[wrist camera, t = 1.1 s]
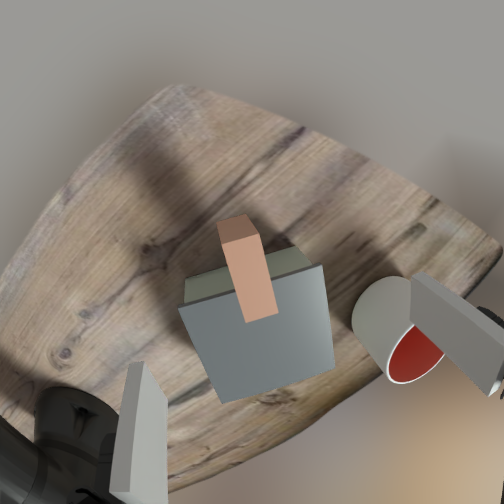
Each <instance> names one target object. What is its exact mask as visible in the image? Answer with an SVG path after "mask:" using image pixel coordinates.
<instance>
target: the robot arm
mask: <svg viewBox="0 0 504 504" xmlns="http://www.w3.org/2000/svg"><path fill="white" fill-rule="evenodd" d="M409 320H410V321H411V322H412V323H413V324H414V325H415V326H416V327H417V328H418V329H419V330H420V331H421V332H423V333H424V334H425V335H426V336H427V337H428V338H429V339H430V340H431V341H432V342H433V343H434V344H435V345H436V346H437V347H438V348H439V349H440V350H441V351H442V352H443V353H444V354H445V355H447V356H448V357H449V358H450V359H451V360H452V361H453V362H454V363H455V364H456V365H457V366H458V367H459V368H460V369H461V370H462V371H463V372H464V373H465V374H466V375H467V376H468V377H469V378H470V379H471V380H472V381H473V382H474V383H475V384H476V385H477V386H478V387H479V389H481V391H482V392H483V393H485V395H486V396H487V397H489V396H490V395H491V394H492V393H494V392H495V391H496V390H497V389H499V387H500V385H501V382H502V380H503V379H504V321H503V320H502V319H501V318H500V317H497V315H496V314H494V313H493V312H492V311H490V310H489V309H486V308H483V307H480V306H479V307H477V308H475V307H474V306H472V305H471V304H469V303H468V302H467V301H465V300H464V299H463V298H461V297H460V296H458V295H457V294H455V293H454V292H453V291H451V290H450V289H448V288H447V287H445V286H444V285H442V284H441V283H440V282H438V281H437V280H435V279H434V278H432V277H431V276H429V275H428V274H426V273H425V272H423V271H422V272H419V273H417V274H415V275H412V276H411V301H410V319H409ZM503 396H504V390H503V392H502V394H501V397H500V399H503ZM167 412H168V399H167V398H166V396H165V395H164V393H163V392H162V390H161V388H160V387H159V385H158V383H157V382H156V380H155V378H154V377H153V375H152V373H151V372H150V370H149V368H148V367H147V365H146V363H145V361H141V362H136V363H132V364H129V368H128V373H127V378H126V383H125V388H124V393H123V398H122V404H121V409H120V415H118V414H117V413H116V412H115V411H114V410H113V409H112V408H110V407H109V406H108V405H106V404H105V403H104V402H102V401H100V400H99V399H97V398H95V397H93V396H91V395H89V394H87V393H84V392H81V391H78V390H75V389H71V388H65V387H52V388H48V389H46V390H44V391H42V392H41V393H40V395H39V397H38V399H37V401H36V404H35V407H34V417H35V427H34V442H33V443H32V442H31V441H30V440H29V439H27V438H26V437H25V436H24V435H22V434H21V433H20V432H19V431H18V430H16V429H15V428H14V427H13V426H12V425H11V424H9V423H8V422H7V421H6V420H5V419H4V418H3V417H2V416H1V415H0V504H168V487H167ZM501 504H504V483H503V491H502V498H501Z"/></svg>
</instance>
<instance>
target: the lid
mask: <svg viewBox="0 0 504 504" xmlns="http://www.w3.org/2000/svg"><path fill="white" fill-rule="evenodd" d="M216 224H217V228H218V232H219V236H220V241H221V245H222V248H223V251H224V255H225V258H226V261H227V264H228V268H229V271H230V274H231V278H232V281H233V284H234V287H235V289H232V290H229V291H225V292H222V293H218V294H215V295H212V296H208V297H205V298H201V299H198V300H194V301H191V302H187V303H184V304H180V305H178V311H179V313H180V315H181V318H182V320H183V322H184V325H185V327H186V329H187V331H188V334H189V336H190V338H191V340H192V343H193V345H194V347H195V349H196V351H197V354H198V356H199V358H200V360H201V362H202V364H203V366H204V368H205V371H206V373H207V375H208V377H209V379H210V381H211V383H212V385H213V387H214V389H215V391H216V393H217V395H218V397H219V399H220V401H221V403H222V404H223V403H227V402H231V401H234V400H238V399H242V398H246V397H249V396H253V395H256V394H260V393H263V392H267V391H270V390H273V389H276V388H280V387H283V386H286V385H289V384H292V383H295V382H298V381H301V380H304V379H307V378H309V377H312V376H315V375H318V374H321V373H323V372H326V371H329V370H331V369H334V368H335V361H334V352H333V343H332V334H331V326H330V318H329V310H328V303H327V296H326V289H325V282H324V275H323V268H322V265H321V264H320V263H316V264H313V265H310V266H307V267H304V268H301V269H298V270H294V271H291V272H288V273H285V274H282V275H278V276H275V277H272V278H270V275H269V271H268V267H267V263H266V259H265V255H264V251H263V247H262V243H261V239H260V235H259V232H258V231H257V230H256V228H255V227H254V225H253V224H252V222H251V221H250V219H249V218H248V216H247V215H246V214H243V215H239V216H236V217H232V218H229V219H225V220H222V221H219V222H216Z"/></svg>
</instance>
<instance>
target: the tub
mask: <svg viewBox="0 0 504 504" xmlns="http://www.w3.org/2000/svg"><path fill="white" fill-rule="evenodd" d="M265 259H266V263H267V267H268V271H269V275H270V278H272V277H275V276H278V275H282V274H285V273H288V272H291V271H294V270H298V269H301V268H304V267H307V266H310V265H313V264H312V263H311V262H310V261H309V260H308V259H307V258H306V256H305V255H304V254H303V253H302V252H301V251H300V250H299V249H298V248H297V247H296V246H293V247H290V248H286V249H283V250H280V251H276V252H273V253H270V254H266V255H265ZM232 289H235V287H234V284H233V281H232V278H231V274H230V271H229V268H228V266H226V267H223V268H219V269H216V270H212V271H209V272H206V273H202V274H199V275H195V276H192V277H189V278H185V294H184V303H187V302H191V301H194V300H198V299H201V298H205V297H208V296H212V295H215V294H218V293H222V292H225V291H229V290H232Z"/></svg>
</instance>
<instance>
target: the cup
mask: <svg viewBox="0 0 504 504" xmlns="http://www.w3.org/2000/svg"><path fill="white" fill-rule="evenodd" d="M410 301H411V282H410V281H409V280H407V279H405V278H403V277H400V276H389V277H385V278H382V279H380V280H378V281H376V282H374V283H373V284H372V285H370V286H369V287H368V288H367V289H366V290H365V291H364V292H363V293H362V294H361V296H360V297H359V299H358V301H357V302H356V304H355V307H354V309H353V313H352V329H353V332H354V334H355V336H356V337H357V338H358V340H359V341H360V342H361V344H362V345H363V346H364V347H365V349H366V350H367V351H368V353H369V354H370V355H371V357H372V358H373V359H374V360H375V362H376V363H377V364H378V366H379V367H380V368H381V370H382V371H383V372H384V374H385V375H386V376H387V378H388V379H389V380H390V381H392V382H393V383H398V384H404V383H408V382H411V381H414V380H416V379H418V378H420V377H421V376H423V375H425V374H426V373H427V372H429V371H430V370H431V369H432V368H433V367H434V366H435V365H436V364H437V363H438V362H439V361H440V360H441V359H442V357H443V356H444V353H443V352H442V351H441V350H440V349H439V348H438V347H437V346H436V345H435V344H434V343H433V342H432V341H431V340H430V339H429V338H428V337H427V336H426V335H425V334H424V333H423V332H421V331H420V330H419V329H418V328H417V327H416V326H415V325H414V324H413V323H412V322H411V321H410V320H409V319H410Z"/></svg>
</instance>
